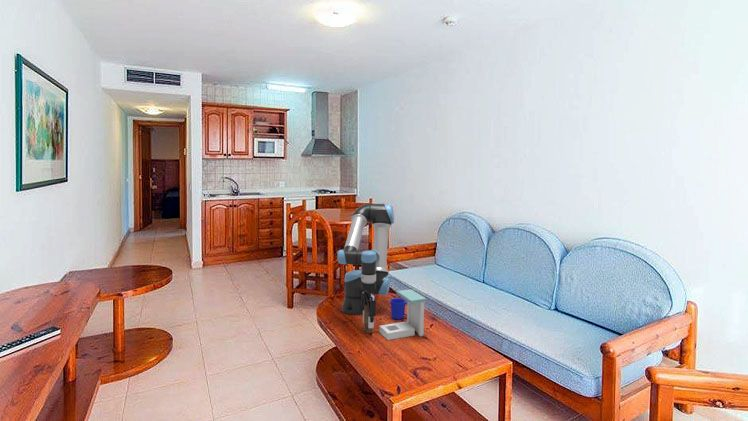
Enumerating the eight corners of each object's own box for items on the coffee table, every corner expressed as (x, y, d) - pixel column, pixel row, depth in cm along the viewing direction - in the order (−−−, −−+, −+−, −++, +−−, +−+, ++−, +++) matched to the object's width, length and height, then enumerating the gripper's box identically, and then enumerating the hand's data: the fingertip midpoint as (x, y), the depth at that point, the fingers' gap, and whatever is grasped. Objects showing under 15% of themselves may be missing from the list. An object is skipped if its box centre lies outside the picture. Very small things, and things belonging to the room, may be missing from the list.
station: (377, 330, 207) (377, 293, 205) (410, 324, 215) (410, 289, 213) (390, 342, 193) (390, 303, 190) (425, 336, 200) (426, 298, 198)
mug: (410, 321, 219) (411, 304, 218) (389, 319, 221) (389, 302, 220) (412, 316, 227) (412, 299, 226) (391, 314, 229) (391, 297, 228)
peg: (363, 330, 206) (363, 304, 205) (370, 329, 208) (370, 303, 206) (366, 333, 203) (366, 307, 201) (373, 332, 204) (373, 306, 203)
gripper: (354, 277, 210) (354, 319, 212) (369, 288, 192) (368, 333, 194) (368, 275, 213) (367, 317, 215) (383, 286, 195) (382, 331, 197)
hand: (368, 324), depth 205 cm, fingers open, 7 cm apart
